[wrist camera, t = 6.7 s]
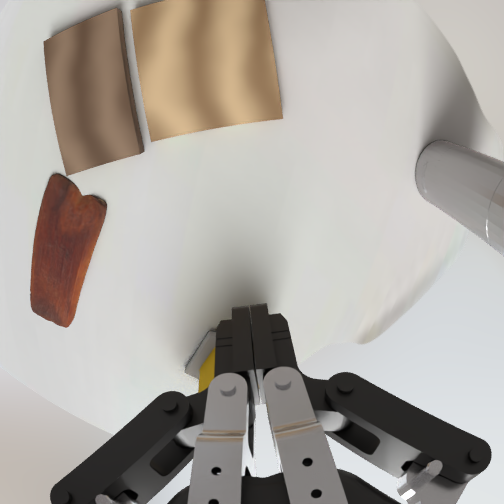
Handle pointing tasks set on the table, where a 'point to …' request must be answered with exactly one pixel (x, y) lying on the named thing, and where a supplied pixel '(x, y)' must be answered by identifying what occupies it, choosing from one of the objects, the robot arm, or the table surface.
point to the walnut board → (92, 93)
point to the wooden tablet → (63, 248)
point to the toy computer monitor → (204, 362)
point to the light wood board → (205, 65)
